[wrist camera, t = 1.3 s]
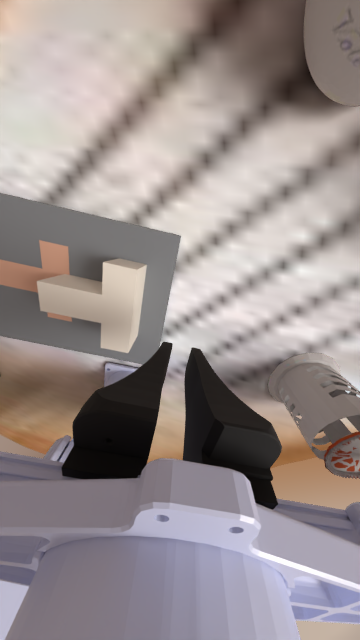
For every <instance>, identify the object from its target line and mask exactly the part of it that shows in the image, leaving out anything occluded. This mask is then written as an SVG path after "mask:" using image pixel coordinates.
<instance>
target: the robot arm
mask: <svg viewBox="0 0 360 640" xmlns="http://www.w3.org/2000/svg"><path fill="white" fill-rule="evenodd" d="M171 350H172V343H168V342H163V343H162V345H161V346H160V348H159V349H158V350H157V351H156V353H155V354H154V355H153V356H152V357H151V358H150V359H149V360H148V361H147V362H146V363H145V364H143V365H142V366H141V367H140V368H134V367H129V366H124V365H119V364H114V363H106V365H105V378H104V388H101V389H98V390H96V391H95V392H94V393H93V394H92V396H91V397H90V398H89V399H88V400H87V402H86V403H85V404H84V405H83V407H82V408H81V410H80V412H79V413H78V415H77V416H76V418H75V420H74V421H73V439H72V440H71V441H70V439H71V437H70V436H68V435H65V436H64V437H63V438H60V439H58V440H56V441H55V443H54V444H53V445H52V447H51V448H50V449H49V451H48V452H47V454H46V455H45V456H44V458H43V459H41V458H35V457H29V456H24V455H18V454H12V453H6V452H0V640H301V639H300V636H299V631H298V628H297V625H296V621H295V620H298V621H316V622H334V623H349V624H360V502H356V503H352V504H350V505H349V506H348V507H347V508H346V509H345V510H341V509H335V508H329V507H323V506H318V505H312V504H306V503H300V502H294V501H288V500H282V499H276V496H275V493H274V490H273V487H272V484H271V481H272V480H273V476H272V474H271V471H270V467H271V466H272V465H273V463H274V462H275V461H276V459H277V458H278V457H279V455H280V453H281V449H282V446H281V443H280V441H279V439H278V436H277V434H276V432H275V430H274V428H273V426H272V424H271V423H270V422H269V421H267V420H266V419H265V418H263V417H262V416H260V415H259V414H257V413H256V412H255V411H253V410H252V409H251V408H249V407H248V406H247V405H246V404H245V403H243V402H242V401H241V400H240V399H239V398H238V397H237V396H236V395H235V394H233V393H232V392H231V391H230V390H229V389H228V388H227V386H226V385H225V384H224V383H223V382H222V381H221V380H220V378H219V377H218V376H217V375H216V373H215V372H214V371H213V369H212V368H211V366H210V365H209V363H208V361H207V360H206V358H205V356H204V355H203V353H202V351H201V350H200V349H197V348H192V349H191V353H190V356H189V360H188V363H187V367H186V371H185V405H186V421H185V438H184V452H183V460H177V459H165V458H160V459H157V460H154V461H151V462H149V463H148V464H147V460H148V456H149V452H150V448H151V444H152V440H153V435H154V431H155V427H156V423H157V418H158V412H159V405H160V398H161V391H162V387H163V383H164V380H165V376H166V372H167V367H168V363H169V359H170V355H171ZM108 368H109V369H108ZM146 464H147V465H146Z"/></svg>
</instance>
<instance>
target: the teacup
mask: <svg viewBox="0 0 360 640" xmlns="http://www.w3.org/2000/svg"><path fill="white" fill-rule="evenodd" d="M304 47H305V56H306V60H307V65H308V68H309V70H310V73H311V76H312V78H313V80H314V82H315V83H316V85H317V86H318V88H319V89H320V90H321V91H322V92H323V93H324V94H325V95H326V96H327V97H328V98H330V99H331V100H333V101H335V102H337V103H340V104H343V105H348V106H360V0H306V6H305V14H304Z"/></svg>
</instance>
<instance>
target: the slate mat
mask: <svg viewBox="0 0 360 640" xmlns="http://www.w3.org/2000/svg"><path fill="white" fill-rule="evenodd" d="M180 238H181V236H179V235H175V234H171V233H166V232H162V231H158V230H154V229H149V228H145V227H141V226H137V225H133V224H128V223H124V222H120V221H116V220H112V219H107V218H103V217H99V216H95V215H91V214H86V213H82V212H78V211H74V210H69V209H65V208H61V207H57V206H53V205H48V204H44V203H40V202H36V201H32V200H27V199H23V198H19V197H15V196H11V195H6V194H2V193H0V336H4V337H9V338H14V339H19V340H24V341H29V342H34V343H39V344H44V345H49V346H54V347H59V348H64V349H69V350H74V351H79V352H84V353H89V354H94V355H99V356H104V357H109V358H114V359H119V360H124V361H129V362H134V363H139V364H145V363H146V362H147V361H148V360H149V359H150V358H151V357H152V356H153V355H154V354H155V353H156V351H157V350H158V349H159V346H160V341H161V335H162V330H163V325H164V320H165V315H166V310H167V305H168V300H169V294H170V289H171V284H172V279H173V274H174V269H175V264H176V259H177V253H178V248H179V243H180ZM119 258H120V259H125V260H129V261H133V262H138V263H142V264H147V268H146V276H145V283H144V291H143V299H142V307H141V314H140V322H139V330H138V336H137V338H136V340H135V341H134V343H133V345H132V347H131V349H130V351H129V353H124V352H119V351H114V350H109V349H104V348H101V323H98V322H93V321H88V320H83V319H78V318H74V317H69V316H64V315H59V314H54V313H49V312H44V311H40V303H39V295H38V288H37V281H38V280H42V279H46V278H50V277H54V276H58V275H62V274H68V275H72V276H77V277H82V278H86V279H91V280H95V281H100V282H102V277H103V262H105V261H110V260H114V259H119Z"/></svg>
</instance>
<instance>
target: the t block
mask: <svg viewBox="0 0 360 640" xmlns="http://www.w3.org/2000/svg"><path fill="white" fill-rule="evenodd" d="M146 268H147V264H142V263H138V262H133V261H129V260H125V259H120V258H119V259H114V260H110V261H105V262H103V277H102V282H100V281H95V280H91V279H86V278H82V277H77V276H72V275H68V274H62V275H58V276H54V277H50V278H46V279H42V280H38V281H37V288H38V295H39V303H40V311H44V312H49V313H54V314H59V315H64V316H69V317H74V318H78V319H83V320H88V321H93V322H98V323H101V348H104V349H109V350H114V351H119V352H124V353H129V351H130V349H131V347H132V345H133V343H134V341H135V340H136V338H137V336H138V330H139V322H140V314H141V307H142V299H143V291H144V283H145V276H146Z"/></svg>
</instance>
